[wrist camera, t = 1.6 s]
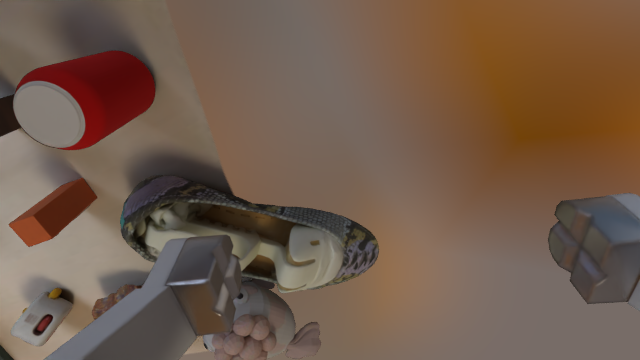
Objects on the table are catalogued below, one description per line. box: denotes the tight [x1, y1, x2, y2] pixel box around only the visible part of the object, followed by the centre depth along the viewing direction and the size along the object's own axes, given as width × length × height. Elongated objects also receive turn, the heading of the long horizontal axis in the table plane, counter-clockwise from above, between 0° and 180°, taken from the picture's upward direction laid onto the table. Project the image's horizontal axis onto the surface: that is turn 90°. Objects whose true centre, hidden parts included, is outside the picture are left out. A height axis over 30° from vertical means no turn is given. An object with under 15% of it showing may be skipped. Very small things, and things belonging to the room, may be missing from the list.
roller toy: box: [11, 288, 72, 346], centre depth 46 cm, size 4×6×6 cm
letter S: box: [9, 178, 97, 247], centre depth 37 cm, size 3×3×8 cm
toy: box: [203, 278, 321, 360], centre depth 45 cm, size 10×15×10 cm
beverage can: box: [13, 51, 155, 150], centre depth 30 cm, size 6×6×12 cm
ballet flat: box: [120, 175, 379, 293], centre depth 40 cm, size 11×30×10 cm, turn 74°
